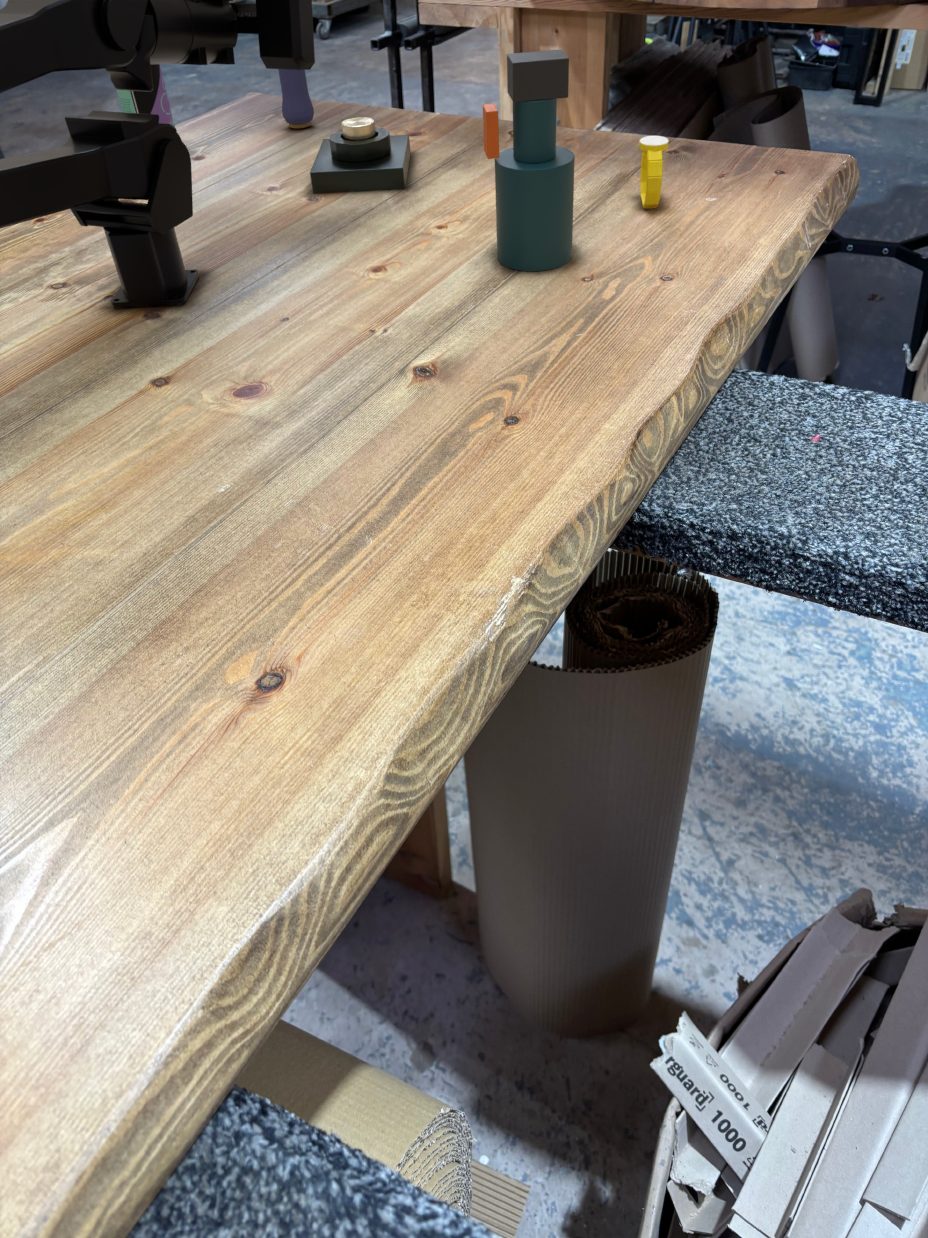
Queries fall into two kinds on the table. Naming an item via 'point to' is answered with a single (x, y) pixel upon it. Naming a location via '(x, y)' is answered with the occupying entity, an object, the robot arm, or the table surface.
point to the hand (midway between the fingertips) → (266, 27)
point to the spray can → (149, 99)
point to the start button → (358, 129)
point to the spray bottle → (535, 168)
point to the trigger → (491, 131)
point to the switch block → (361, 163)
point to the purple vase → (295, 98)
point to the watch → (651, 169)
